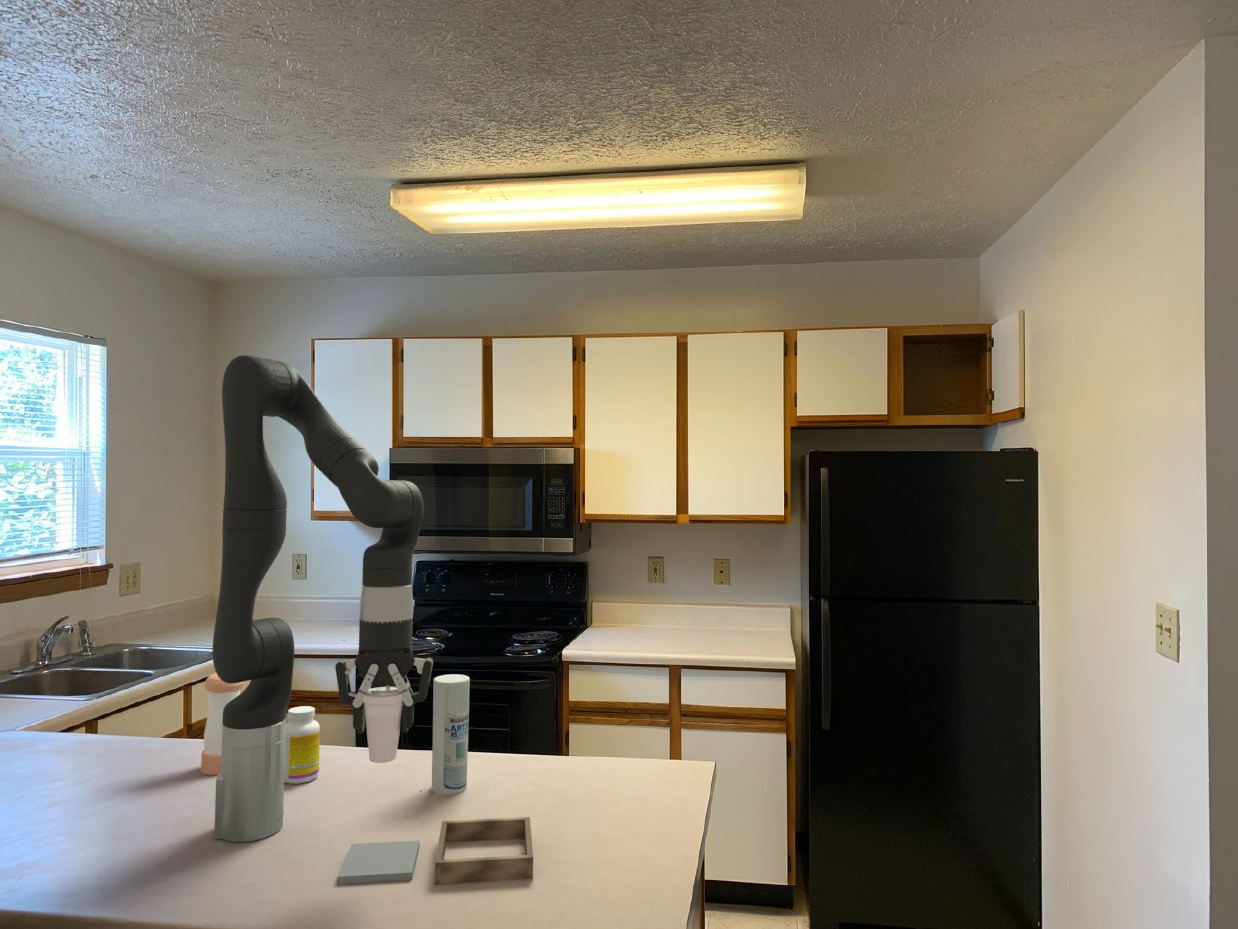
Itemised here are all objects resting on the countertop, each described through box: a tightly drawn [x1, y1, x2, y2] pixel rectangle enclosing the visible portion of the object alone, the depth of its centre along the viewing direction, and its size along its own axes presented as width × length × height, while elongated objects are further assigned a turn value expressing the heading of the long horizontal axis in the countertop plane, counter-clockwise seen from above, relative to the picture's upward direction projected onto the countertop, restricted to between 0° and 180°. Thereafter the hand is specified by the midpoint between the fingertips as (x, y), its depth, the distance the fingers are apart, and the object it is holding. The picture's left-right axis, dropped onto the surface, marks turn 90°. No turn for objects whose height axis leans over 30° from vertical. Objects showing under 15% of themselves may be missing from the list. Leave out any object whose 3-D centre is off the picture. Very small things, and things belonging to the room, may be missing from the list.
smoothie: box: [362, 685, 405, 764], centre depth 114 cm, size 6×6×14 cm
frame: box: [434, 816, 534, 886], centre depth 115 cm, size 14×14×3 cm
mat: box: [337, 839, 421, 885], centre depth 113 cm, size 10×10×1 cm
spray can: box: [431, 673, 471, 796], centre depth 142 cm, size 6×6×20 cm
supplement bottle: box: [284, 705, 321, 785], centre depth 146 cm, size 7×7×13 cm
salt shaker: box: [200, 672, 246, 776], centre depth 151 cm, size 7×7×19 cm
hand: (383, 730), depth 114 cm, fingers closed on smoothie, 5 cm apart
